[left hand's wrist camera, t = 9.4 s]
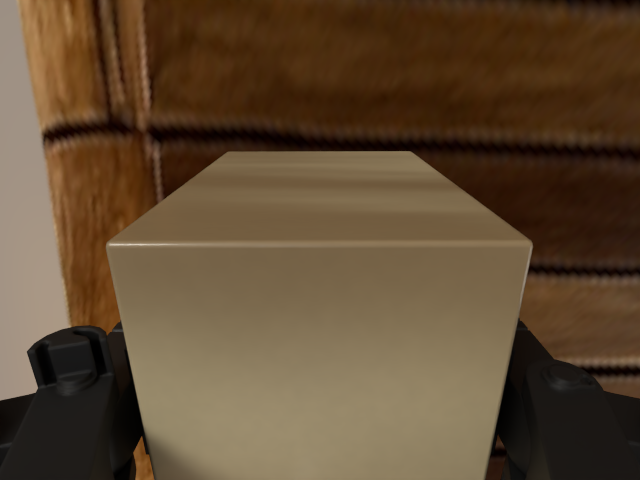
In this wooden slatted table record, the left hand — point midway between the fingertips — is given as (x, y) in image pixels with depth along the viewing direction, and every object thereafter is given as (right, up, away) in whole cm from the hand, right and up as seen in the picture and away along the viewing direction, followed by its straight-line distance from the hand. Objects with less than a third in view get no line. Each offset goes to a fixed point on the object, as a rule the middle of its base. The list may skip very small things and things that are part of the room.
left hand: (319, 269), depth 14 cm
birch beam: (0, -12, +5) cm, 13 cm away
